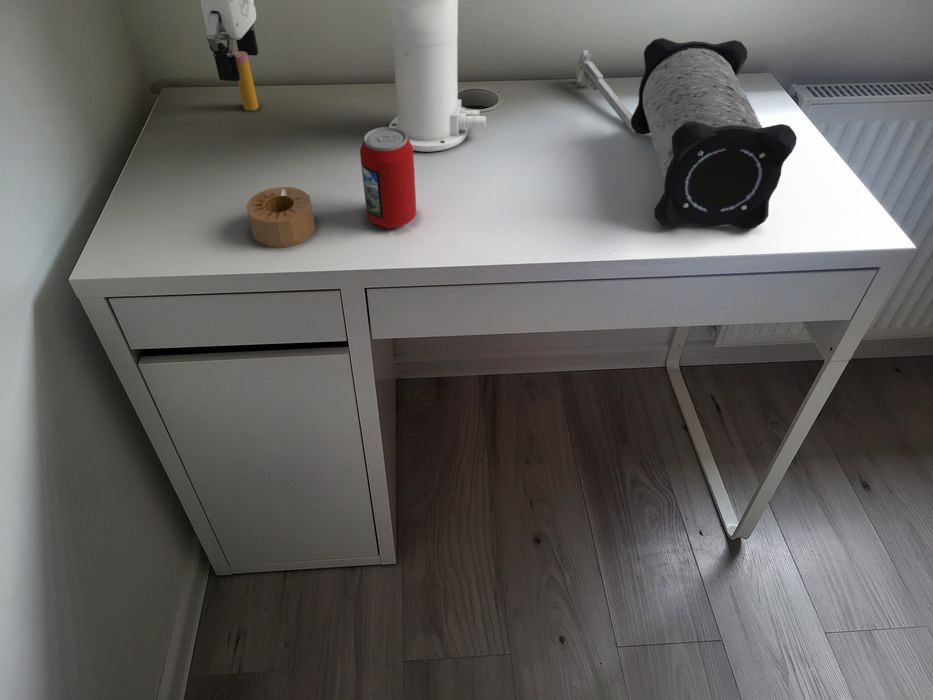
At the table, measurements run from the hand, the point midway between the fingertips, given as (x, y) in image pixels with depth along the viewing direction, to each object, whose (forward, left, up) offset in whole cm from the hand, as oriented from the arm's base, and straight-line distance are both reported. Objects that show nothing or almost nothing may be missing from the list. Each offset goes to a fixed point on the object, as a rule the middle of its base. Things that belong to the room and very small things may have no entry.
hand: (239, 66), depth 115 cm
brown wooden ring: (-15, +34, -7) cm, 38 cm away
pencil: (0, 0, -7) cm, 7 cm away
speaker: (-72, +16, -7) cm, 74 cm away
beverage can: (-29, +30, -7) cm, 43 cm away
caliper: (-60, -6, -7) cm, 61 cm away
